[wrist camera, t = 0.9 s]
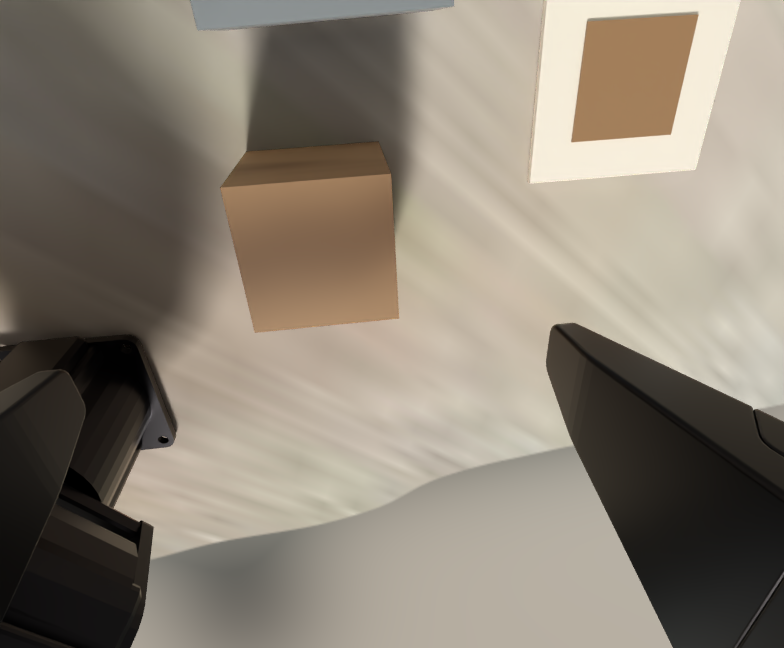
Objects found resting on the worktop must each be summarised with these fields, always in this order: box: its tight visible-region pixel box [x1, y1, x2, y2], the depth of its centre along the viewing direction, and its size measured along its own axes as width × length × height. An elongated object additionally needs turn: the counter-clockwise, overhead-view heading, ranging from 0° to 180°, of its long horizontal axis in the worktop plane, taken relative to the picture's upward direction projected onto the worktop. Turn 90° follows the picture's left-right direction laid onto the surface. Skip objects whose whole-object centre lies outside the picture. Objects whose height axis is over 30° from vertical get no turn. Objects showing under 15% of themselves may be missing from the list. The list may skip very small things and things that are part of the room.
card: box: [527, 0, 741, 183], centre depth 18 cm, size 7×7×1 cm
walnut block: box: [220, 141, 399, 333], centre depth 18 cm, size 5×5×5 cm
